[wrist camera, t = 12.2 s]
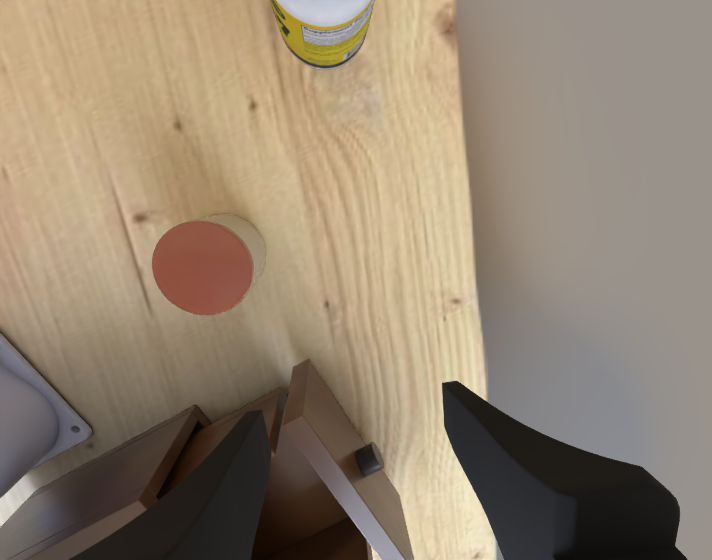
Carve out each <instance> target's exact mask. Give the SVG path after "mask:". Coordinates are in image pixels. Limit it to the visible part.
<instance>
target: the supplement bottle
mask: <svg viewBox="0 0 712 560" xmlns="http://www.w3.org/2000/svg"><path fill="white" fill-rule="evenodd" d="M270 1H271V4H272V7H273V11H274V13H275V17H276V20H277V23H278V26H279V29H280V32H281V35H282V37H283V40H284V42H285V44H286V45H287V47H288V48H289V50H290V51H291V53H292V54H293V55H294V56H295V57H296V58H297V59H298V60H300V61H301V62H302V63H304V64H306V65H308V66H310V67H313V68H316V69H322V70H329V69H334V68H338V67H340V66H342V65H344V64H346V63H347V62H349V61H350V60H351V59H352V58H353V57H354V56H355V55H356V54H357V53H358V51H359V50H360V48H361V46H362V44H363V42H364V39H365V36H366V33H367V29H368V26H369V21H370V18H371V14H372V10H373V6H374V2H375V0H270Z"/></svg>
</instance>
